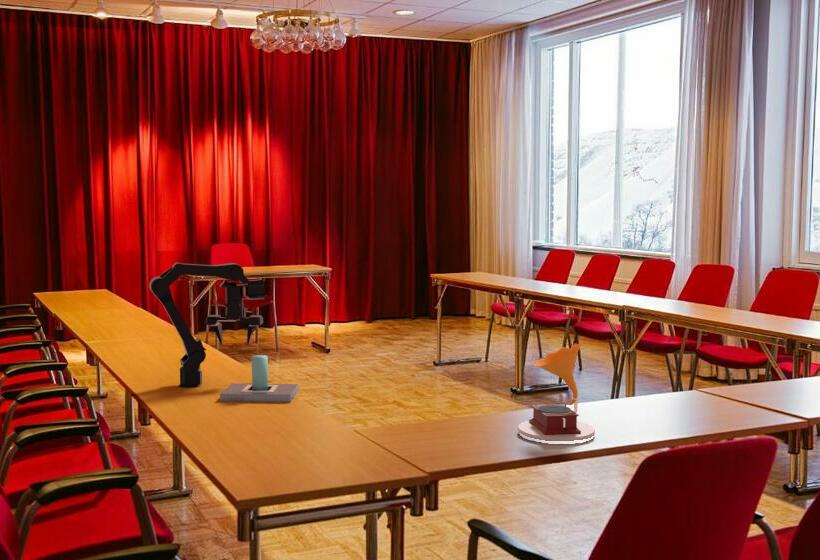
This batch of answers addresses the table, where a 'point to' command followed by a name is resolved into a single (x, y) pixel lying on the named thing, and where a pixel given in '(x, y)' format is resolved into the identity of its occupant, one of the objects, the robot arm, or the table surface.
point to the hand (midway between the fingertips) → (235, 345)
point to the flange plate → (259, 393)
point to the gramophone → (558, 418)
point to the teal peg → (260, 372)
